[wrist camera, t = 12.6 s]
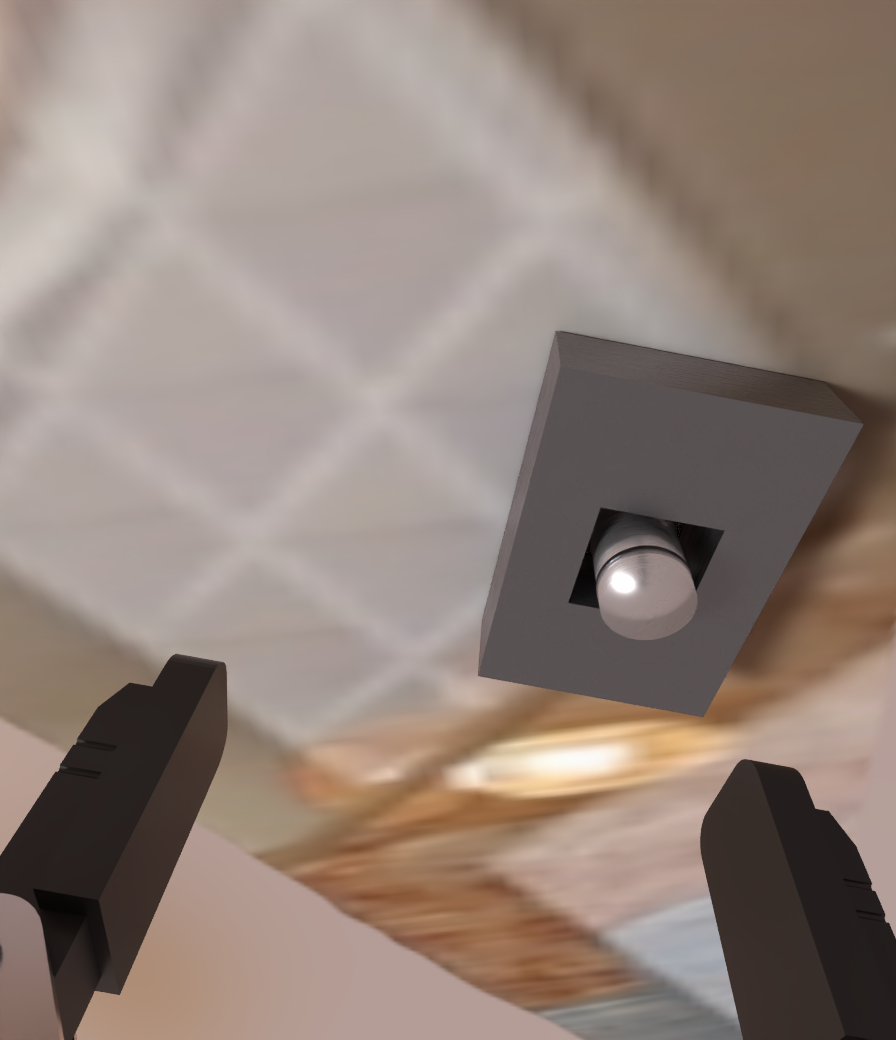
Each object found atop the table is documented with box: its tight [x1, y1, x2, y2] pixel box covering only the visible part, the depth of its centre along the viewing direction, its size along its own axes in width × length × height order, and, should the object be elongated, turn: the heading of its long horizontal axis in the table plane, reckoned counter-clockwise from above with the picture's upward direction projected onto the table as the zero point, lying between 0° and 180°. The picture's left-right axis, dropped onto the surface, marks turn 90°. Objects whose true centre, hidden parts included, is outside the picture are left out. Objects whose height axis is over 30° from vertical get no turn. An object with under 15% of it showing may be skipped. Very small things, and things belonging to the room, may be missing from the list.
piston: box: [590, 508, 698, 640], centre depth 38 cm, size 5×5×8 cm
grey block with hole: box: [478, 331, 864, 717], centre depth 39 cm, size 20×14×5 cm
